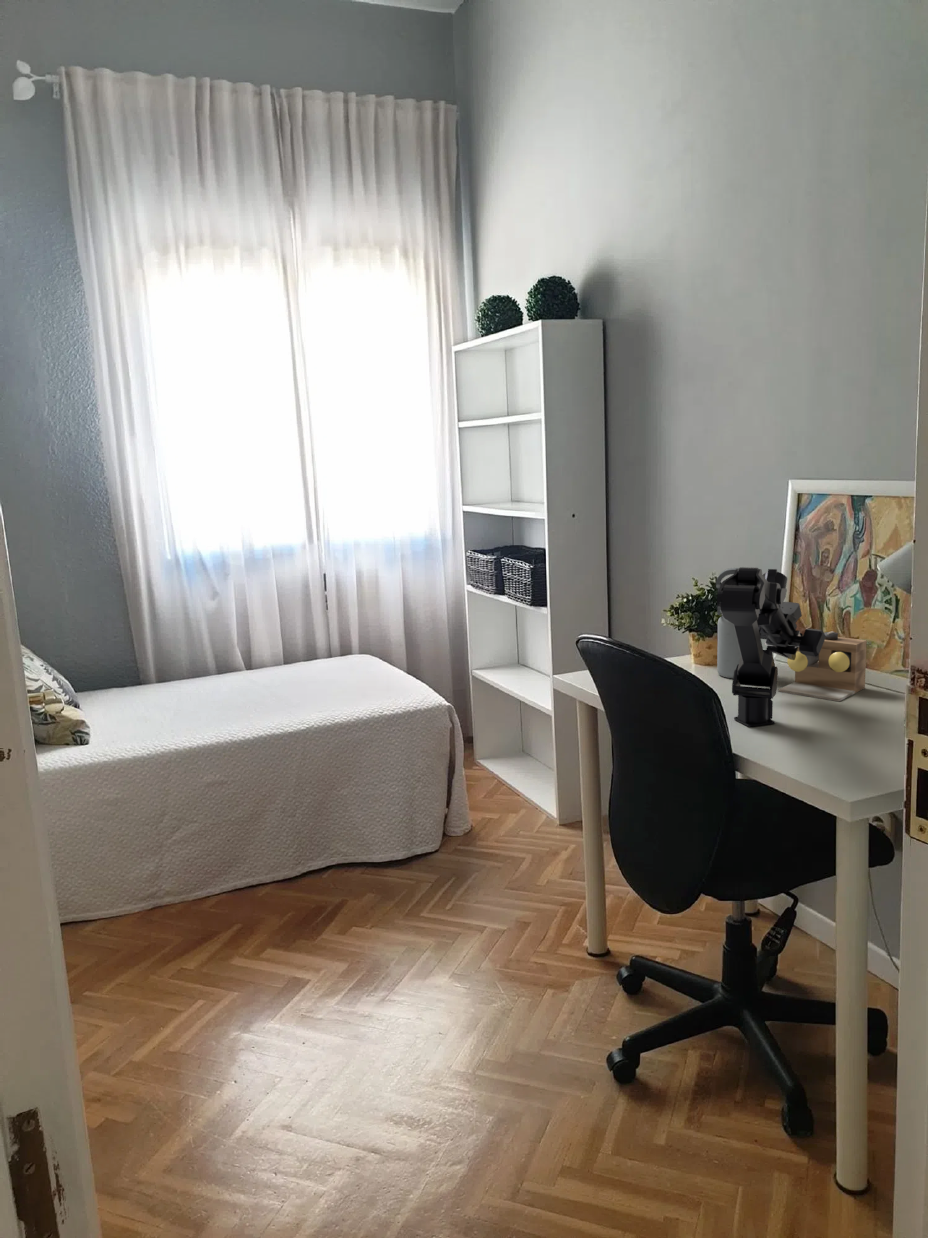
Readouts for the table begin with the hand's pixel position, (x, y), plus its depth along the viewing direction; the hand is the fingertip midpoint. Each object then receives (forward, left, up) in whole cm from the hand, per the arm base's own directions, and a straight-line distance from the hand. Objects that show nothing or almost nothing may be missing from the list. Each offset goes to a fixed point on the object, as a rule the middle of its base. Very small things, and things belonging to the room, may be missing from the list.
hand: (793, 658), depth 229 cm
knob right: (+13, -2, -4) cm, 14 cm away
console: (+8, 0, -9) cm, 12 cm away
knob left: (+5, +3, -4) cm, 7 cm away
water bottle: (-3, +21, -9) cm, 23 cm away
